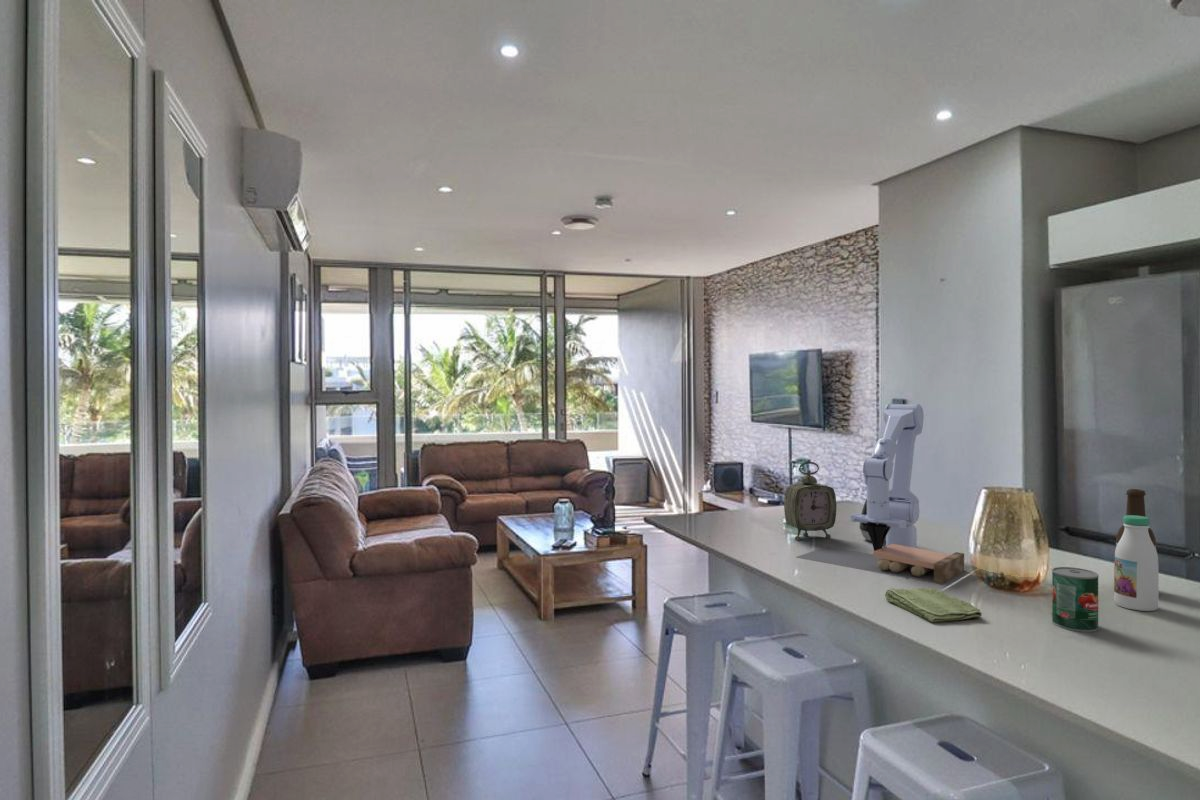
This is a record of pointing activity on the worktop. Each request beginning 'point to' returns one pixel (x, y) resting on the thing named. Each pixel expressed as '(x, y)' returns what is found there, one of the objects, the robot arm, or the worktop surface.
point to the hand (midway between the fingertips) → (877, 550)
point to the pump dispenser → (862, 525)
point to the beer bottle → (1135, 511)
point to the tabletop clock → (810, 505)
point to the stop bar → (948, 567)
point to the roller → (919, 570)
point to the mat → (863, 563)
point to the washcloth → (932, 604)
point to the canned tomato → (1075, 599)
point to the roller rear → (884, 564)
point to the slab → (910, 555)
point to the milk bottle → (1136, 567)
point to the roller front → (898, 566)
